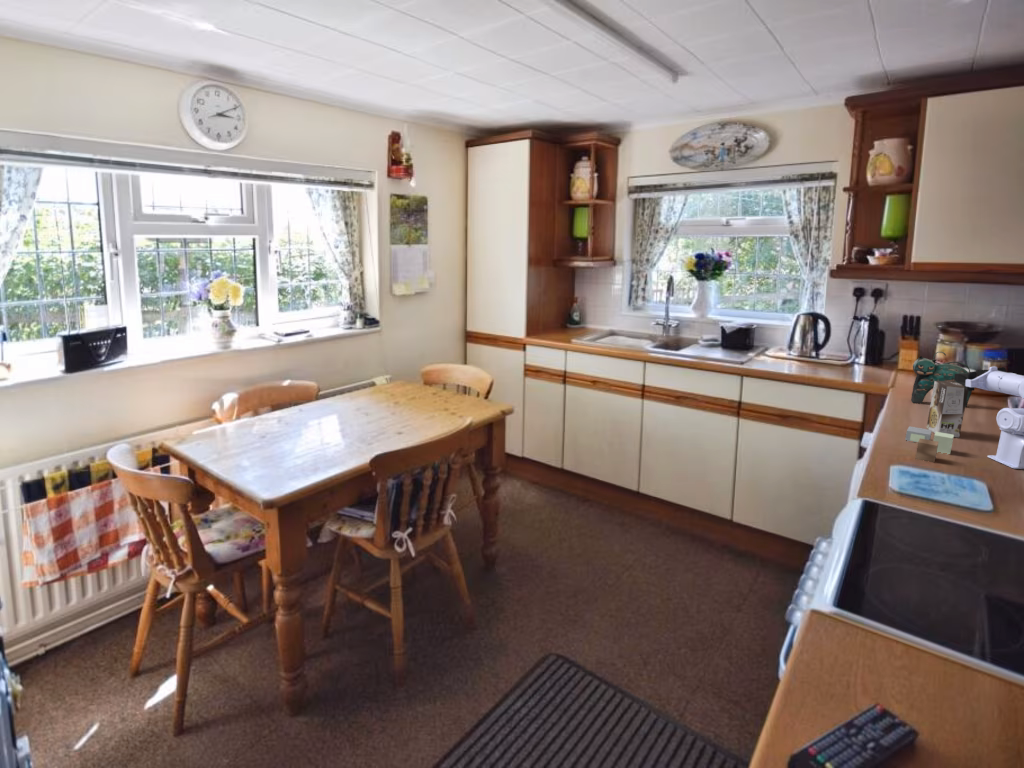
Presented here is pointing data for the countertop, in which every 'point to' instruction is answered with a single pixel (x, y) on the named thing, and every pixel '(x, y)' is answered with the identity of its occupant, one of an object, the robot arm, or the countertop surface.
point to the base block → (917, 434)
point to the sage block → (944, 442)
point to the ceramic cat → (933, 376)
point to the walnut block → (926, 450)
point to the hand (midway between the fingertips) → (967, 375)
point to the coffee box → (947, 407)
